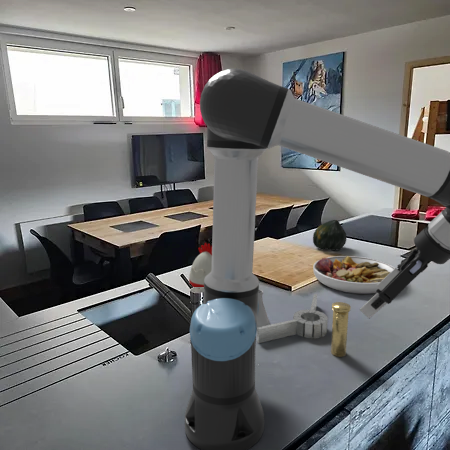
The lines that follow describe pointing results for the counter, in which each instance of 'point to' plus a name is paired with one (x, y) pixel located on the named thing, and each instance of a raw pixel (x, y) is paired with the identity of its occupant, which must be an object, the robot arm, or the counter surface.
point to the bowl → (351, 273)
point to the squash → (330, 236)
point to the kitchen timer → (201, 266)
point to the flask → (262, 312)
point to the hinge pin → (339, 328)
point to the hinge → (297, 325)
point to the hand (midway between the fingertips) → (373, 300)
